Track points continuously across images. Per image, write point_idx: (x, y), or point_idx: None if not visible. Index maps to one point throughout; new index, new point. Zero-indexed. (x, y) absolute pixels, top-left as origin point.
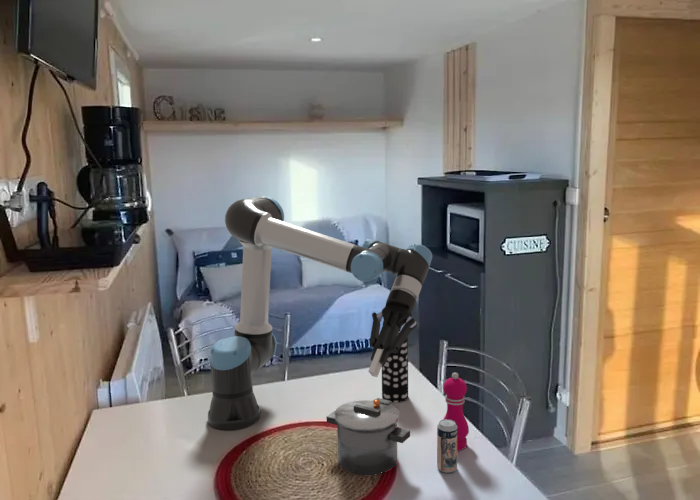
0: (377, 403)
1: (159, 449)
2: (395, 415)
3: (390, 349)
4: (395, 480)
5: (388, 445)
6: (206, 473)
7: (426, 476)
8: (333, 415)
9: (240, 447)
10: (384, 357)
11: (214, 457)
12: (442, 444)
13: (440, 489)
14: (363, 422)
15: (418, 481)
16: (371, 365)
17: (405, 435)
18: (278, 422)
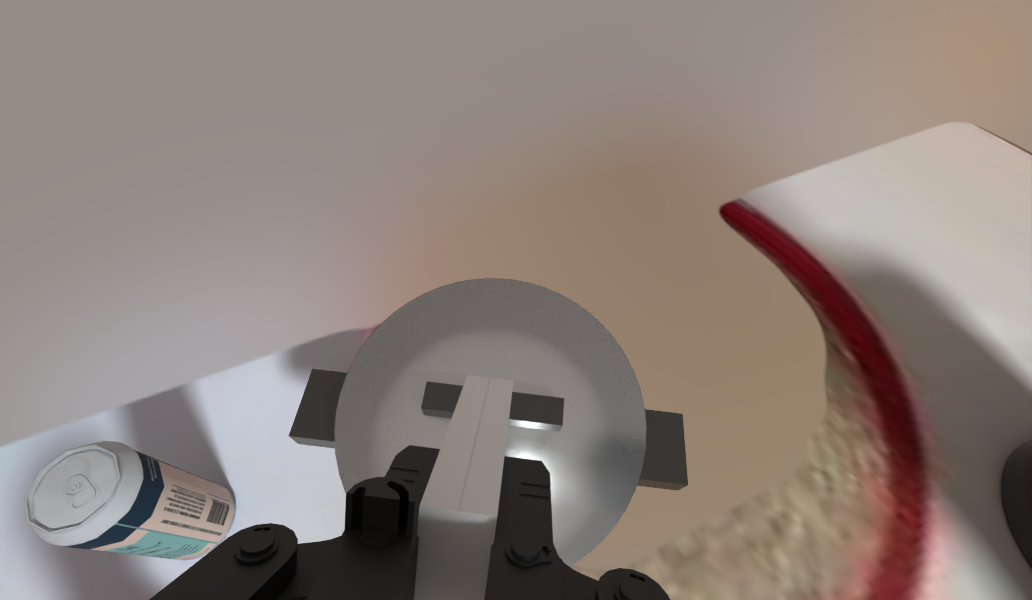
0: None
1: (1027, 283)
2: (350, 439)
3: (306, 553)
4: None
5: None
6: (824, 243)
7: (273, 444)
8: (662, 434)
9: (880, 370)
10: (389, 474)
11: (881, 302)
12: (158, 460)
13: (224, 393)
14: (465, 311)
15: (296, 407)
16: (502, 404)
17: (305, 395)
18: (957, 592)
